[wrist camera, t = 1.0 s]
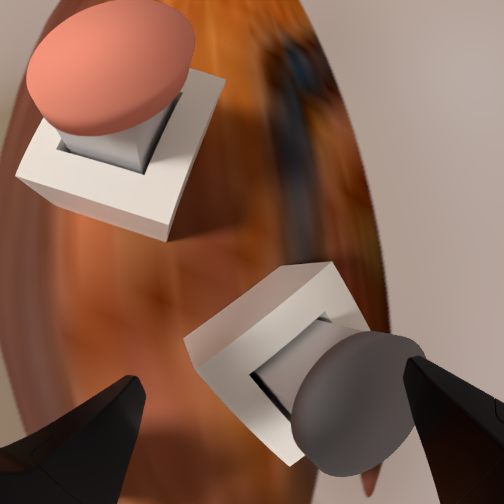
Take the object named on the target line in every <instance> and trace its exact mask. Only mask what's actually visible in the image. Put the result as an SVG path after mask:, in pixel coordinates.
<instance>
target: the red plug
mask: <svg viewBox="0 0 504 504" xmlns="http://www.w3.org/2000/svg"><path fill="white" fill-rule="evenodd" d="M194 47H195V34H194V30H193V27H192V25H191V24H190V22H189V21H188V19H187V18H186V17H185V16H184V15H183V14H181V13H180V12H179V11H177V10H176V9H174V8H172V7H170V6H168V5H166V4H163V3H160V2H156V1H151V0H116V1H110V2H106V3H102V4H99V5H96V6H93V7H90V8H88V9H85V10H83V11H81V12H79V13H77V14H75V15H73V16H71V17H70V18H68V19H67V20H65V21H64V22H62V23H61V24H60V25H58V26H57V27H56V28H55V29H53V30H52V31H51V32H50V33H49V34H48V35H47V36H46V37H45V38H44V40H43V41H42V42H41V43H40V45H39V46H38V47H37V49H36V50H35V52H34V54H33V56H32V58H31V60H30V63H29V66H28V70H27V87H28V91H29V93H30V95H31V97H32V99H33V100H34V102H35V104H36V105H37V107H38V109H39V110H40V112H41V114H42V115H43V117H44V118H45V119H46V121H47V122H48V123H49V124H50V125H52V126H53V127H54V128H55V129H56V130H57V132H58V133H59V135H60V137H61V138H62V140H63V141H64V143H65V145H66V146H67V148H68V149H69V151H70V152H71V154H74V155H78V156H82V157H85V158H89V159H92V160H96V161H99V162H103V163H106V164H109V165H113V166H116V167H119V168H123V169H126V170H129V171H133V172H136V173H139V174H142V175H145V173H146V170H147V168H148V166H149V163H150V161H151V159H152V156H153V154H154V152H155V149H156V147H157V145H158V143H159V140H160V138H161V136H162V134H163V132H164V130H165V128H166V125H167V123H168V121H169V119H170V117H171V112H172V104H173V100H174V99H175V97H176V96H177V95H178V94H179V92H180V91H181V89H182V88H183V86H184V84H185V82H186V79H187V76H188V72H189V68H190V64H191V59H192V55H193V51H194Z"/></svg>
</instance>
